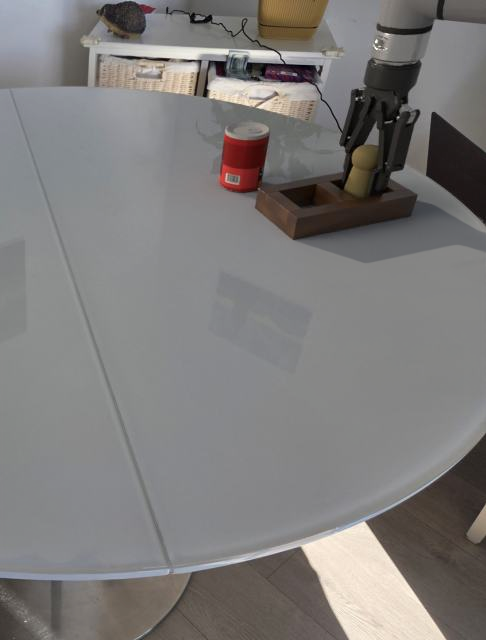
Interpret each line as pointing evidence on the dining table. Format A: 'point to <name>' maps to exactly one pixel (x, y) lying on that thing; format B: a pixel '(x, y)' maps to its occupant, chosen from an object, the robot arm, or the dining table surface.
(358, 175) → the tan pawn
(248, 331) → the dining table surface
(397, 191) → the caddy
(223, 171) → the canned food
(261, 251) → the dining table surface
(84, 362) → the dining table surface
